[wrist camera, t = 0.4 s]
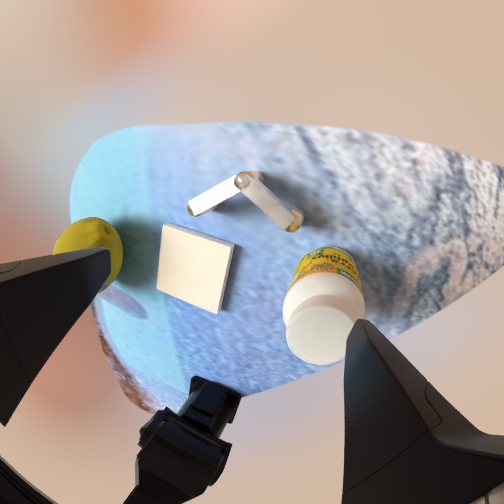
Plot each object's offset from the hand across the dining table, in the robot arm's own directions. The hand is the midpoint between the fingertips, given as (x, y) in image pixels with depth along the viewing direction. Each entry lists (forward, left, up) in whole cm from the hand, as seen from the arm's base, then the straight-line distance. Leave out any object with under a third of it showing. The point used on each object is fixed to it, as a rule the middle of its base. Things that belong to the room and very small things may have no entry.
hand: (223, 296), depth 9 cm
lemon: (-9, +19, -15) cm, 26 cm away
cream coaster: (-7, +8, -15) cm, 18 cm away
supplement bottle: (-4, -4, -15) cm, 16 cm away
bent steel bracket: (0, +4, -15) cm, 15 cm away
